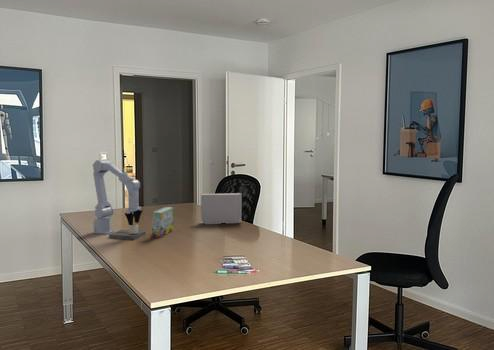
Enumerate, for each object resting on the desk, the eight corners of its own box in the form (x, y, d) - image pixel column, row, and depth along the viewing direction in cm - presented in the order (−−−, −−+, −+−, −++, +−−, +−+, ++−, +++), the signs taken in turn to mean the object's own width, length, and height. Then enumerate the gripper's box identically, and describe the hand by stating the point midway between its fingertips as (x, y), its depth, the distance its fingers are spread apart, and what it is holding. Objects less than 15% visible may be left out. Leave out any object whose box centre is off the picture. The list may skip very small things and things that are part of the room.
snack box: (160, 238, 273) (160, 212, 271) (151, 237, 274) (151, 212, 272) (173, 230, 293) (173, 206, 292) (165, 230, 294) (165, 206, 293)
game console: (241, 223, 320) (242, 194, 318) (202, 224, 313) (202, 195, 311) (240, 221, 325) (240, 193, 324) (200, 222, 319) (201, 193, 317)
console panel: (109, 238, 271) (109, 234, 271) (121, 233, 284) (121, 229, 284) (134, 239, 267) (134, 236, 267) (145, 234, 281) (145, 231, 280)
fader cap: (129, 233, 273) (129, 225, 273) (132, 232, 277) (132, 224, 277) (135, 233, 272) (135, 226, 272) (138, 232, 276) (138, 224, 276)
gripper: (134, 202, 265) (134, 226, 266) (145, 199, 279) (145, 221, 280) (122, 202, 267) (122, 225, 268) (134, 198, 281) (134, 221, 282)
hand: (133, 223), depth 274 cm, fingers open, 7 cm apart
